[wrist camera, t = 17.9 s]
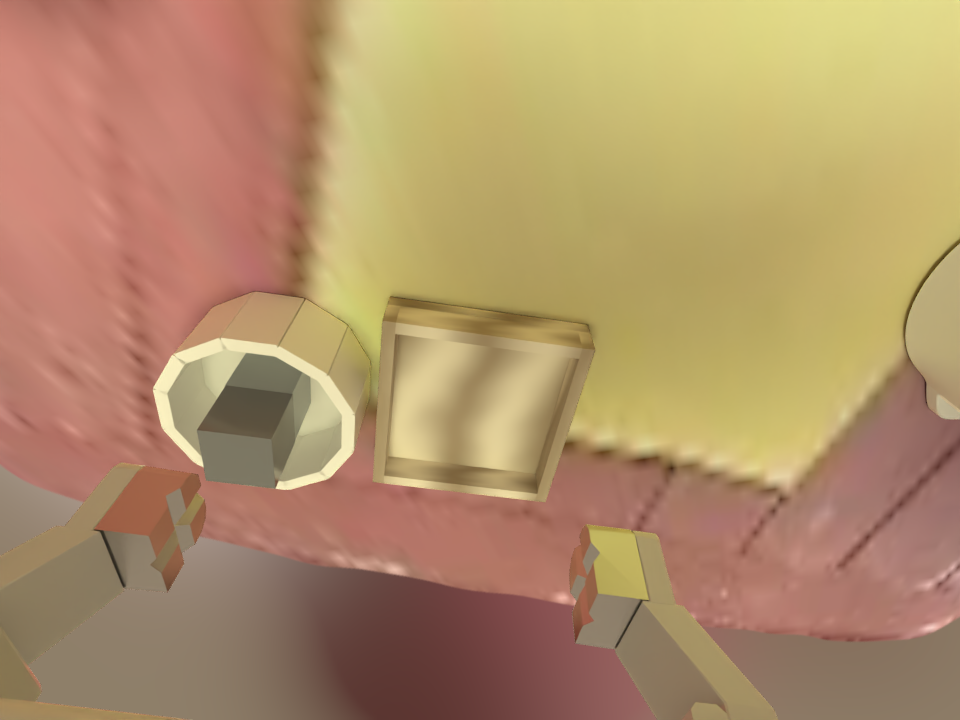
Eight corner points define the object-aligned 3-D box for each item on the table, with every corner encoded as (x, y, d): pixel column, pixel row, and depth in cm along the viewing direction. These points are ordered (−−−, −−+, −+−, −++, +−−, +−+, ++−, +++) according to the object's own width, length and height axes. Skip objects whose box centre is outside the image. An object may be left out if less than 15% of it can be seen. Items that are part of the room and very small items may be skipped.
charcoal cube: (293, 394, 34) (271, 439, 30) (295, 441, 36) (275, 488, 33) (225, 385, 33) (196, 430, 30) (232, 433, 36) (206, 480, 32)
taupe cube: (309, 356, 37) (292, 394, 34) (310, 402, 39) (294, 441, 36) (248, 348, 37) (224, 385, 33) (253, 395, 39) (231, 434, 36)
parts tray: (587, 324, 36) (595, 350, 34) (542, 472, 44) (545, 502, 42) (390, 296, 35) (382, 320, 33) (379, 453, 43) (372, 482, 41)
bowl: (373, 308, 36) (356, 355, 31) (367, 442, 43) (352, 497, 38) (183, 281, 35) (138, 326, 30) (207, 422, 42) (173, 476, 37)
